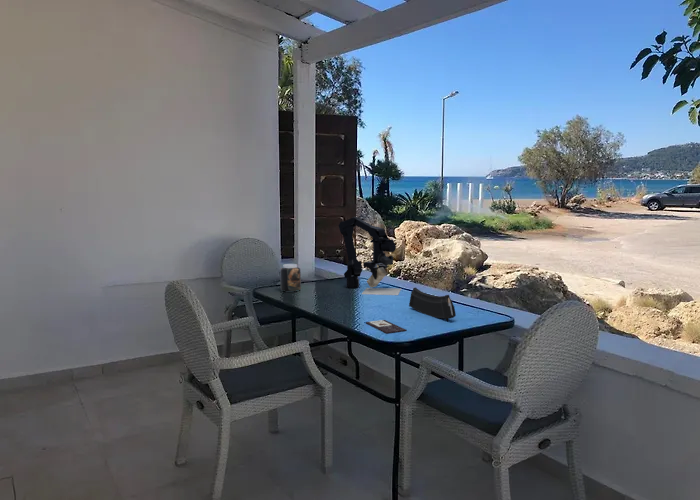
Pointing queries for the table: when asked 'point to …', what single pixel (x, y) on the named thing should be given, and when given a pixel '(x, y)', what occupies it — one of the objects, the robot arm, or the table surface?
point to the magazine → (432, 304)
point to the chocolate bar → (386, 326)
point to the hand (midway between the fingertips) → (378, 278)
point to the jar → (290, 277)
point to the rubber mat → (382, 291)
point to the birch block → (380, 276)
